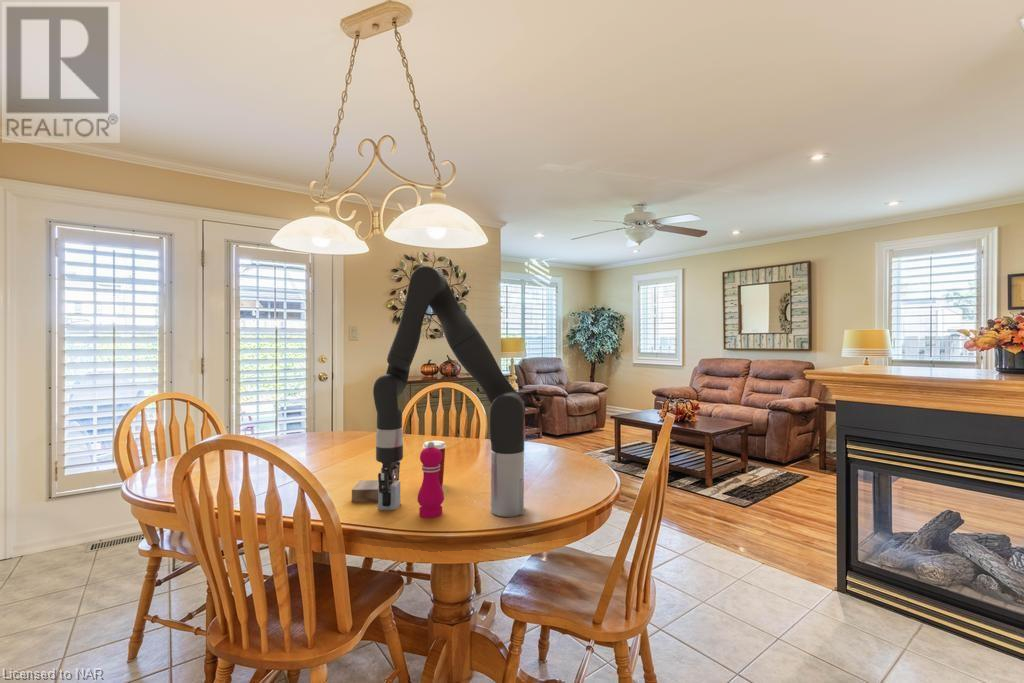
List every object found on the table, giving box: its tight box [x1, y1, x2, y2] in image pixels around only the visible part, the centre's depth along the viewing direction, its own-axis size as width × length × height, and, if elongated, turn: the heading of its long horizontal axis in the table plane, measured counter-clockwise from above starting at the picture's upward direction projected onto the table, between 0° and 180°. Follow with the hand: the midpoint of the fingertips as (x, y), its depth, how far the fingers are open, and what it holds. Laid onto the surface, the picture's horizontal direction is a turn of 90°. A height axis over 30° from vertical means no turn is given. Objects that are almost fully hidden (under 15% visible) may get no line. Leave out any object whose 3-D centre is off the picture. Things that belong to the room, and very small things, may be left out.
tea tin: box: [377, 479, 401, 511], centre depth 139 cm, size 5×5×7 cm
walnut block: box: [351, 479, 379, 503], centre depth 148 cm, size 9×9×4 cm
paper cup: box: [422, 440, 447, 487], centre depth 159 cm, size 8×8×14 cm
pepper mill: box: [417, 442, 445, 519], centre depth 134 cm, size 7×7×20 cm
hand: (389, 502), depth 139 cm, fingers closed on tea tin, 5 cm apart
